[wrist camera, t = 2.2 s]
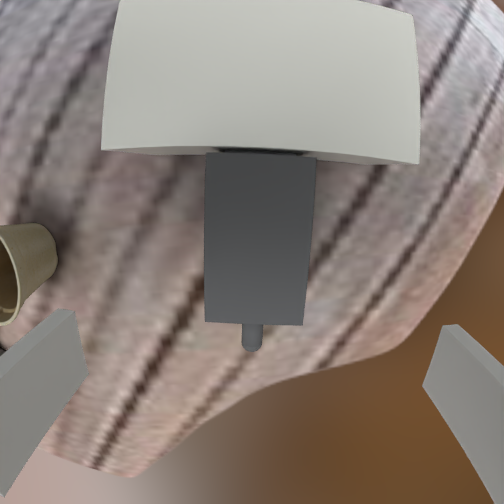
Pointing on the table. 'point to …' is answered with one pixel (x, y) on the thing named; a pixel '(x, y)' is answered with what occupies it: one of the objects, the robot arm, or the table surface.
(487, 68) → the table surface
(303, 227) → the plug
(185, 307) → the table surface
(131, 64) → the white rectangular block
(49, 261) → the flower pot
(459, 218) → the table surface
